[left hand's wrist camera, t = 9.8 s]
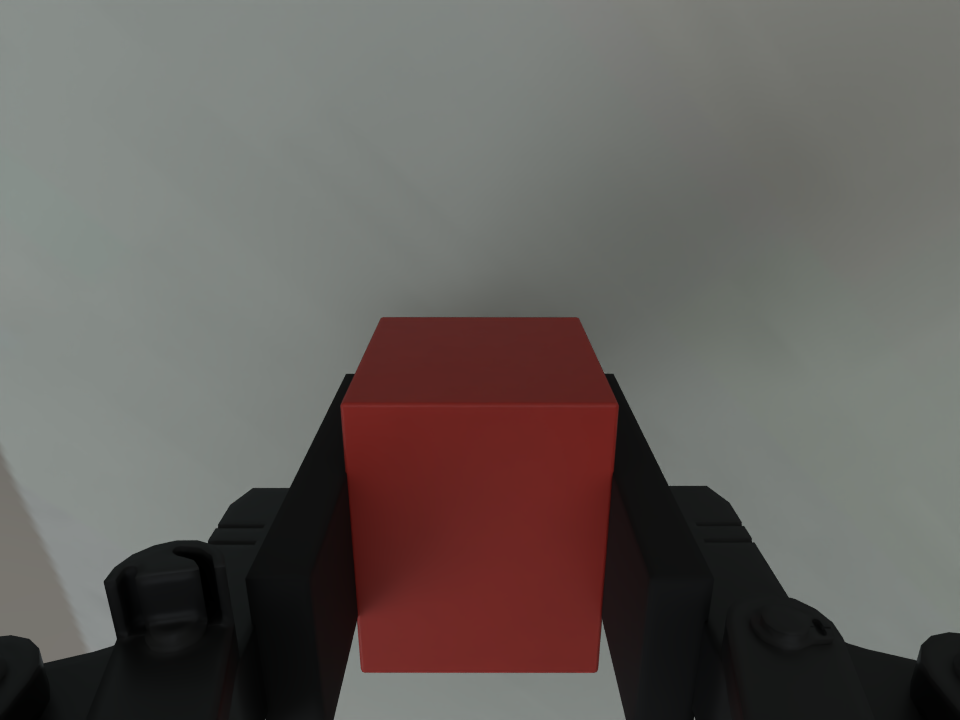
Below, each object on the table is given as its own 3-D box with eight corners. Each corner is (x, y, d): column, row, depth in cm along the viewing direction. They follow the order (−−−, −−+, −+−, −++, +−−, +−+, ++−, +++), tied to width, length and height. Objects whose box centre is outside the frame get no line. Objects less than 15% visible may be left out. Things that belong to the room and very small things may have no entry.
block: (579, 316, 14) (620, 403, 10) (567, 527, 16) (598, 674, 12) (380, 316, 14) (338, 403, 10) (391, 527, 16) (360, 673, 12)
